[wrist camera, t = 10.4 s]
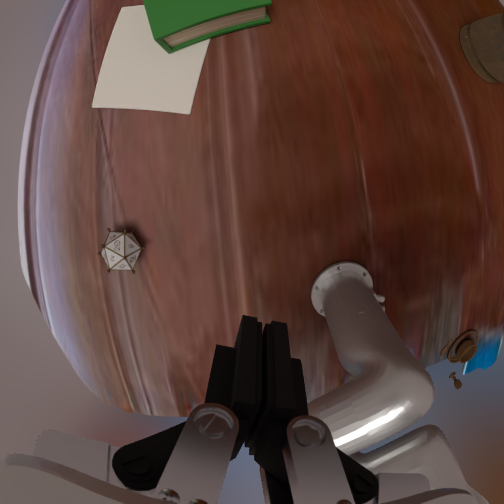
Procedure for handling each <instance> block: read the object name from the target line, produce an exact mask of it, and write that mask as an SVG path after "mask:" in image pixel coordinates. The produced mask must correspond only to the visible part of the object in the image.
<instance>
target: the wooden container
mask: <svg viewBox="0 0 504 504" xmlns="http://www.w3.org/2000/svg"><path fill="white" fill-rule="evenodd" d="M460 43H461V46H462V49H463V52H464V54H465V56H466V58H467V60H468V62H469V64H470V65H471V67H472V68H473V69H474V71H475V72H476V73H477V74H478V75H479V76H480V77H481V78H482V79H483V80H485V81H487V82H489V83H501V82H504V12H503V13H499V14H496V15H492V16H489V17H485V18H482V19H479V20H477V21H474V22H472V23H469V24H467V25H464V26H463V27H462V28H461V30H460Z"/></svg>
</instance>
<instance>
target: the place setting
mask: <svg viewBox="0 0 504 504" xmlns="http://www.w3.org/2000/svg"><path fill="white" fill-rule="evenodd" d="M472 332H473V333H474V334H475V338H474V341H472V340H465V341H463V342H461V343H460V345H459V346H458V349H457V352H456V355H455V356H453V357H450V353H451V351H452V349H453V347H454V346H455V345H456V343H457V342H458V341H459V340H460V339H461V338H463V337H464V336H465V335H467V334H469V333H472ZM452 338H453V336H452ZM452 338H451V339H450V341H449V343H450V342H451V340H452ZM478 338H479V335H478V333H477V332H476V331H474V330H469V331H466V332H464V333H463V334H461V335H460V336H459V337H458V338H457V339H456V340H455V341H454V342H453V344H452V345H451V347H450V349H449V351H448V360H449V361H450V362H451V363H457V362H459V361H460V363H466V362H467V361H469V360H470V359H471V358H472V357H473V356H474V355H475V353H476V351H477V345H476V344H477V342H478ZM449 343H448V344H447V346H445V347H444V348H443V350H442V352H441V356H442V355H443V354H444V353H445V352H446V351H447V348H448V345H449ZM455 374H456V373H455V372H453V373H451V374H450V376H449V378H452V377H453V380H454V381H455V382H454V385H455V387H456V389H459V388H460V387H461V386H462V383H461V382H460V380H457V379H456V377H455V376H454V375H455Z"/></svg>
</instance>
